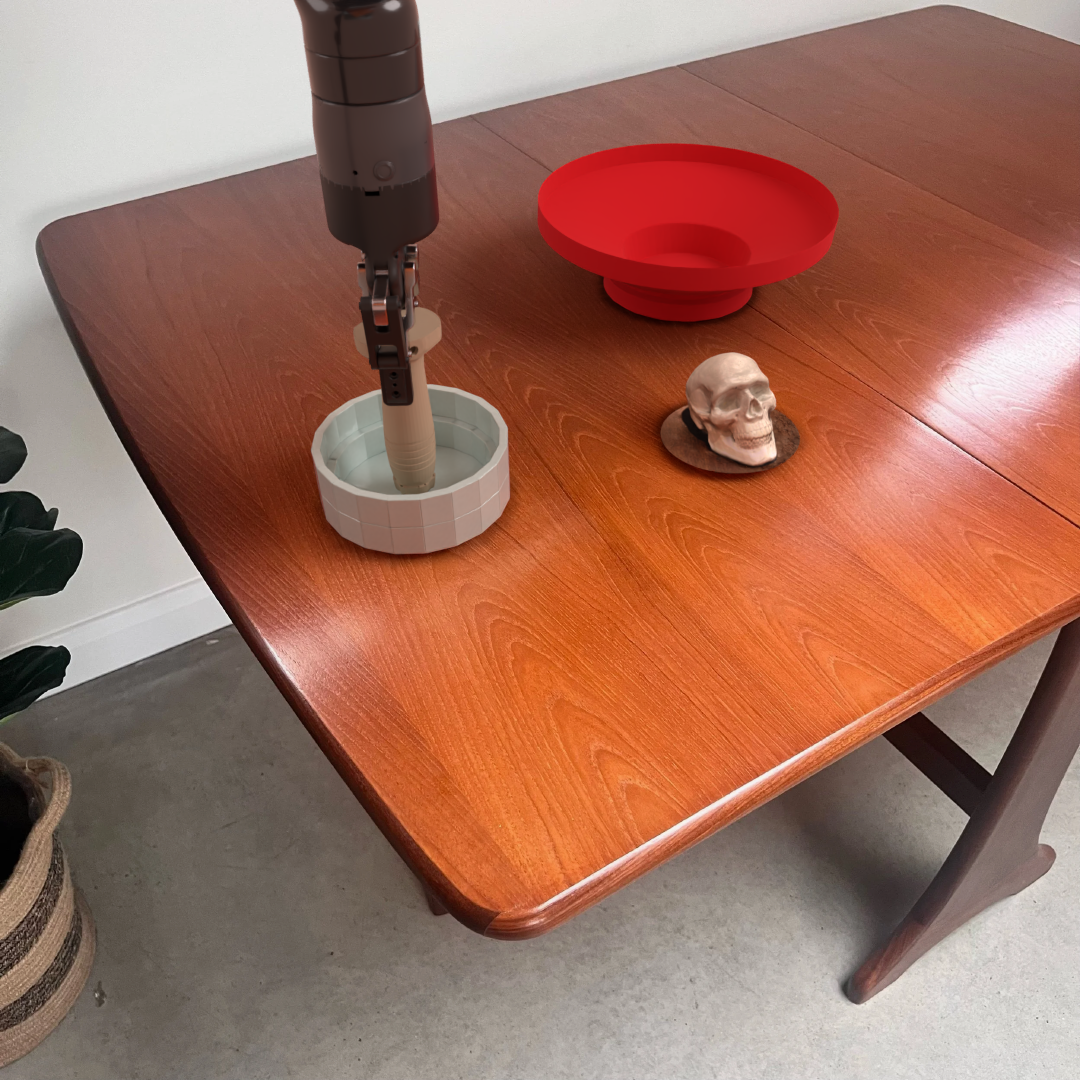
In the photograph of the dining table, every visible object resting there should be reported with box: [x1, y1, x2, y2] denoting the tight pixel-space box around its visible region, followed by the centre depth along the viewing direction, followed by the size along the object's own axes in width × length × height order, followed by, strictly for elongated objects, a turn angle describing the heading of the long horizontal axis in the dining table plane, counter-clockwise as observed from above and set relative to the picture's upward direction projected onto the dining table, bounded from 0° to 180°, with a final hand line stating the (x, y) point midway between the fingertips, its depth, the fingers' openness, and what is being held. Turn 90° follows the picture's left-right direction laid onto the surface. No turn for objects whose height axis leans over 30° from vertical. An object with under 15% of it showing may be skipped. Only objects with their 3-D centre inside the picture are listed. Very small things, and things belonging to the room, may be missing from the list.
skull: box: [660, 351, 801, 474], centre depth 90 cm, size 12×10×10 cm
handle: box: [352, 306, 443, 495], centre depth 81 cm, size 5×6×15 cm
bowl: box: [537, 142, 840, 323], centre depth 109 cm, size 30×30×10 cm
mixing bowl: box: [310, 383, 511, 555], centre depth 84 cm, size 15×15×6 cm
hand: (402, 379), depth 79 cm, fingers closed on handle, 5 cm apart
